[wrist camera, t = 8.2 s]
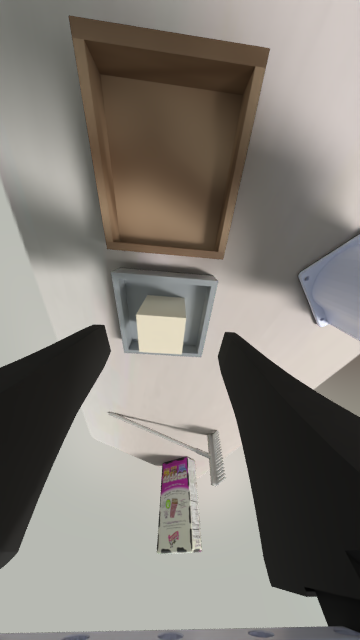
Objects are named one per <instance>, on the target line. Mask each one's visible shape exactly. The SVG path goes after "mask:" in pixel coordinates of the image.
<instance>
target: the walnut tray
mask: <svg viewBox="0 0 360 640" xmlns="http://www.w3.org/2000/svg"><path fill="white" fill-rule="evenodd" d="M69 21H70V27H71V34H72V40H73V46H74V52H75V58H76V64H77V70H78V76H79V82H80V88H81V94H82V100H83V106H84V112H85V118H86V124H87V130H88V136H89V142H90V148H91V155H92V161H93V167H94V173H95V179H96V185H97V191H98V197H99V203H100V209H101V215H102V221H103V227H104V233H105V239H106V245H107V249H112V250H123V251H134V252H145V253H156V254H167V255H179V256H190V257H201V258H212V259H223V258H224V253H225V249H226V244H227V240H228V235H229V231H230V226H231V222H232V217H233V213H234V208H235V204H236V199H237V195H238V190H239V186H240V181H241V177H242V172H243V168H244V163H245V159H246V154H247V150H248V145H249V141H250V136H251V132H252V127H253V123H254V118H255V114H256V109H257V105H258V100H259V96H260V91H261V87H262V82H263V78H264V73H265V69H266V64H267V60H268V55H269V51H270V48H264V47H258V46H252V45H246V44H240V43H234V42H227V41H221V40H215V39H209V38H203V37H197V36H191V35H185V34H179V33H172V32H166V31H160V30H154V29H148V28H142V27H136V26H130V25H123V24H117V23H111V22H105V21H99V20H93V19H87V18H81V17H75V16H69Z"/></svg>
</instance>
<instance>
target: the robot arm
mask: <svg viewBox="0 0 360 640" xmlns="http://www.w3.org/2000/svg"><path fill="white" fill-rule="evenodd" d="M306 277H307V278H306ZM305 278H306V279H305ZM304 279H305V280H304ZM299 280H300V282H301V285H302V287H303V290H304V292H305V295H306V297H307V300H308V302H309V305H310V307H311V310H312V312H313V315H314V317H315V320H316V322H317V325H318V326H320V327H324V326H326V325H328V324H330V325H332V326H334V327H336V328H337V329H339V330H341V331H343V332H345V333H346V334H348V335H350V336H352V337H353V338H355V339H357V340H359V341H360V234H359V235H358V236H356V237H354V238H353V239H351V240H350V241H348V242H347V243H345V244H344V245H342V246H340V247H339V248H337V249H336V250H334V251H333V252H331V253H330V254H328V255H326V256H325V257H323V258H322V259H320V260H319V261H317V262H315V263H314V264H312V265H311V266H309V267H308V268H306V269H305V270H303V271H302V272H300V274H299ZM110 352H111V350H110V345H109V341H108V337H107V333H106V329H105V325H92V326H89V327H87V328H85V329H83V330H80V331H78V332H76V333H74V334H72V335H70V336H68V337H66V338H64V339H62V340H60V341H58V342H56V343H55V344H52V345H50V346H48V347H46V348H44V349H41V350H40V351H37V352H35V353H33V354H31V355H29V356H26V357H24V358H22V359H20V360H17V361H15V362H13V363H10V364H8V365H6V366H3V367H1V368H0V569H1V568H2V567H4V566H5V565H6V564H7V563H8V562H9V561H10V560H11V559H12V558H13V557H14V556H15V555H16V554H17V552H18V550H19V548H20V545H21V542H22V539H23V537H24V534H25V531H26V529H27V527H28V524H29V522H30V519H31V517H32V514H33V511H34V509H35V506H36V504H37V501H38V498H39V496H40V494H41V491H42V489H43V487H44V484H45V482H46V480H47V477H48V475H49V473H50V470H51V468H52V466H53V463H54V461H55V459H56V457H57V454H58V452H59V450H60V448H61V446H62V443H63V441H64V439H65V437H66V435H67V433H68V431H69V429H70V427H71V424H72V422H73V420H74V418H75V416H76V414H77V412H78V410H79V409H80V407H81V405H82V403H83V402H84V400H85V398H86V397H87V395H88V393H89V392H90V390H91V388H92V387H93V385H94V383H95V382H96V380H97V378H98V377H99V375H100V373H101V372H102V370H103V368H104V366H105V364H106V362H107V360H108V357H109V355H110ZM218 360H219V366H220V370H221V374H222V377H223V380H224V383H225V386H226V389H227V392H228V395H229V398H230V401H231V404H232V407H233V410H234V413H235V417H236V420H237V424H238V429H239V433H240V437H241V441H242V445H243V450H244V454H245V459H246V464H247V468H248V473H249V478H250V483H251V488H252V494H253V498H254V504H255V510H256V515H257V521H258V527H259V532H260V538H261V544H262V550H263V557H264V561H265V564H266V569H267V573H268V576H269V580H270V583H271V586H272V587H276V588H279V589H282V590H286V591H289V592H292V593H296V594H300V595H303V596H306V597H308V596H309V597H314V596H315V597H316V596H317V598H318V600H319V603H320V606H321V608H322V611H323V614H324V616H325V619H326V621H327V624H328V627H289V628H288V627H283V628H238V629H237V628H236V629H192V630H191V629H189V630H143V631H98V632H97V631H95V632H48V633H2V634H1V633H0V640H360V417H358V416H357V415H354V414H353V413H351V412H350V411H348V410H346V409H344V408H342V407H341V406H339V405H338V404H336V403H334V402H332V401H331V400H329V399H327V398H326V397H324V396H322V395H321V394H319V393H317V392H316V391H314V390H313V389H311V388H310V387H308V386H307V385H305V384H303V383H302V382H300V381H299V380H297V379H296V378H294V377H293V376H291V375H290V374H288V373H287V372H286V371H284V370H283V369H281V368H280V367H279V366H277V365H276V364H275V363H273V362H272V361H271V360H269V359H268V358H267V357H265V356H264V355H263V354H262V353H260V352H259V351H258V350H256V349H255V348H254V347H253V346H251V345H250V344H249V343H248V342H247V341H245V340H244V339H243V338H242V337H240V336H239V335H238V334H236V333H233V332H225V333H224V337H223V340H222V344H221V347H220V351H219V354H218Z"/></svg>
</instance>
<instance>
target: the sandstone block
mask: <svg viewBox="0 0 360 640" xmlns="http://www.w3.org/2000/svg"><path fill="white" fill-rule="evenodd" d="M136 319H137V331H138V343H139V352H148V353H164V354H180V355H182V348H183V340H184V332H185V324H186V309H185V298H179V297H166V296H154V295H147V297H146V298H145V300H144V302H143V303H142V305H141V307H140V309H139V310H138V312H137V314H136Z"/></svg>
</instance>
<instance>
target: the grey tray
mask: <svg viewBox="0 0 360 640" xmlns="http://www.w3.org/2000/svg"><path fill="white" fill-rule="evenodd" d="M111 276H112V282H113V288H114V294H115V300H116V306H117V312H118V318H119V324H120V330H121V336H122V342H123V348H124V353H136V354H153V355H171V356H188V357H202V352H203V348H204V343H205V339H206V334H207V330H208V325H209V321H210V316H211V312H212V307H213V303H214V298H215V294H216V289H217V285H218V280H217V279H216V278H215V277H214V276H210V275H198V274H187V273H175V272H163V271H151V270H140V269H128V268H119V269H117V270H114V271H112V272H111ZM147 295H154V296H166V297H179V298H185V309H186V324H185V332H184V340H183V348H182V355H180V354H164V353H148V352H139V343H138V331H137V319H136V314H137V312H138V310H139V309H140V307H141V305H142V303H143V302H144V300H145V298H146V297H147Z"/></svg>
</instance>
